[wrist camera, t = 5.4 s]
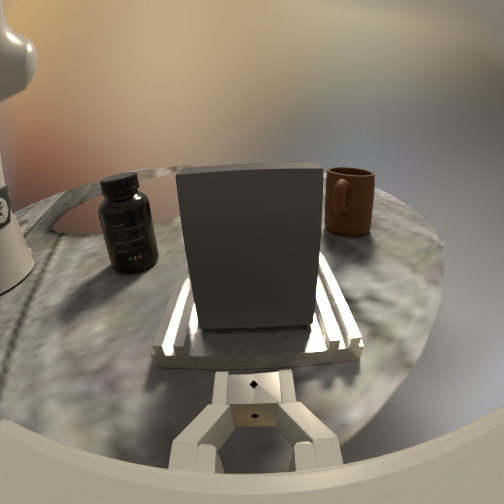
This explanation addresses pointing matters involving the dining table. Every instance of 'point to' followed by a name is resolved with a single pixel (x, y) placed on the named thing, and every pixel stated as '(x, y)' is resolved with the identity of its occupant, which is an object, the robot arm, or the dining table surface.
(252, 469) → the dining table surface
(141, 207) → the supplement bottle
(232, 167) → the gray rectangular block
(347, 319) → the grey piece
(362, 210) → the mug
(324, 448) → the robot arm
